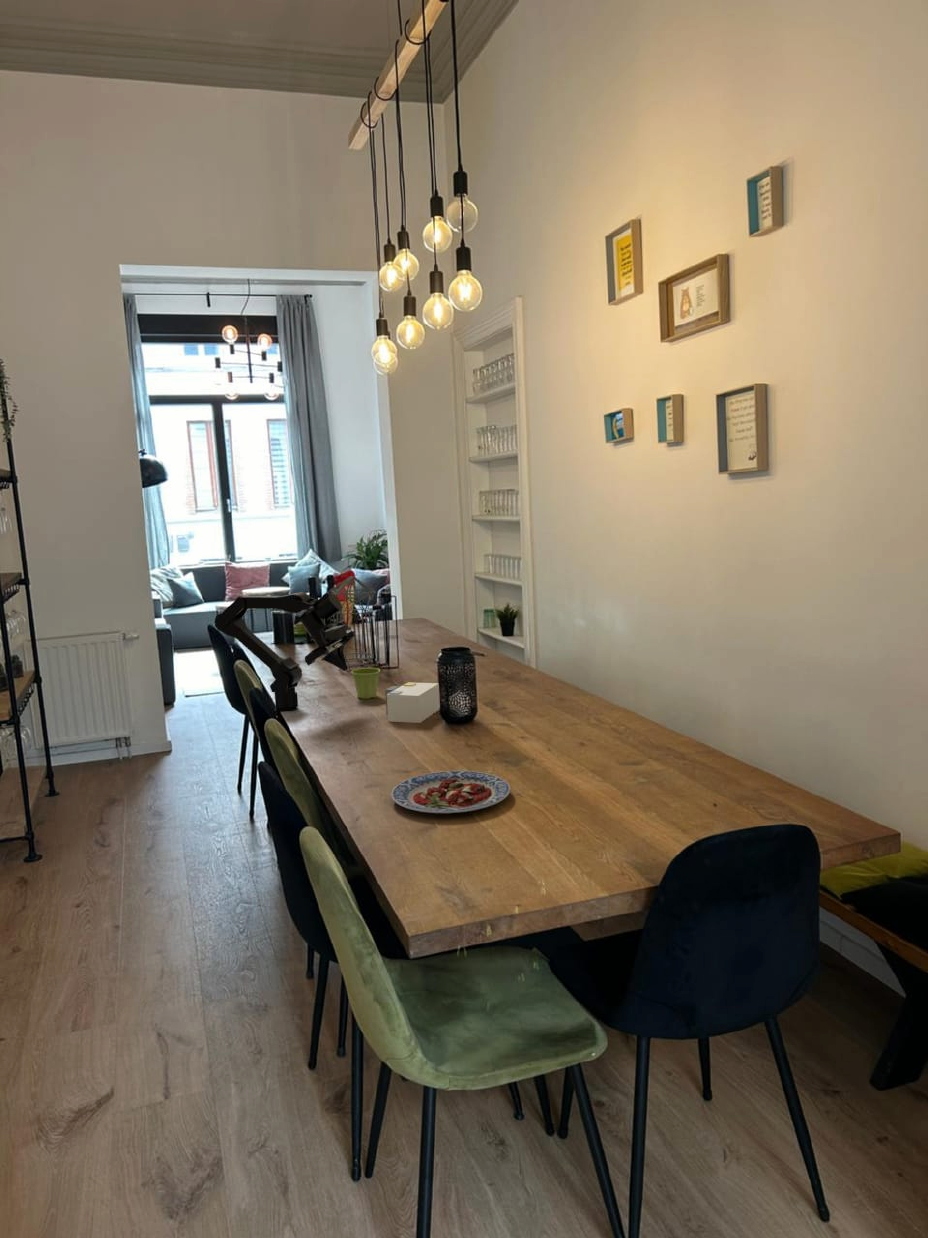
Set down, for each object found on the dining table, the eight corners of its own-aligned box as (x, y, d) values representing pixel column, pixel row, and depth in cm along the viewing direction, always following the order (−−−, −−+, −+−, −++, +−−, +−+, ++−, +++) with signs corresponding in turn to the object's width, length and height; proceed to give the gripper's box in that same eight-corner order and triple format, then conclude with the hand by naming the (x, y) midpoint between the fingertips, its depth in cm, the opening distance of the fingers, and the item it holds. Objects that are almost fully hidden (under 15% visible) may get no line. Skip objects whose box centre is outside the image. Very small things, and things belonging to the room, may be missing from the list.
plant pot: (384, 693, 295) (382, 667, 293) (378, 700, 285) (377, 673, 284) (356, 693, 296) (354, 668, 294) (350, 700, 286) (348, 674, 285)
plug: (386, 714, 265) (385, 689, 264) (393, 710, 270) (392, 685, 269) (415, 716, 262) (414, 691, 261) (422, 711, 267) (421, 687, 265)
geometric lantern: (331, 666, 343) (327, 576, 338) (371, 663, 347) (368, 574, 343) (338, 673, 328) (334, 579, 323) (380, 670, 332) (376, 577, 328)
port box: (387, 721, 259) (386, 693, 258) (409, 707, 274) (407, 681, 273) (420, 723, 256) (418, 694, 254) (439, 709, 270) (438, 682, 269)
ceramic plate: (445, 772, 211) (445, 760, 211) (534, 793, 195) (533, 780, 194) (366, 805, 192) (366, 792, 191) (457, 831, 175) (457, 817, 175)
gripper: (311, 626, 260) (341, 670, 260) (350, 605, 275) (379, 647, 274) (291, 644, 267) (321, 686, 266) (330, 622, 282) (359, 662, 281)
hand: (346, 670), depth 272 cm, fingers closed
